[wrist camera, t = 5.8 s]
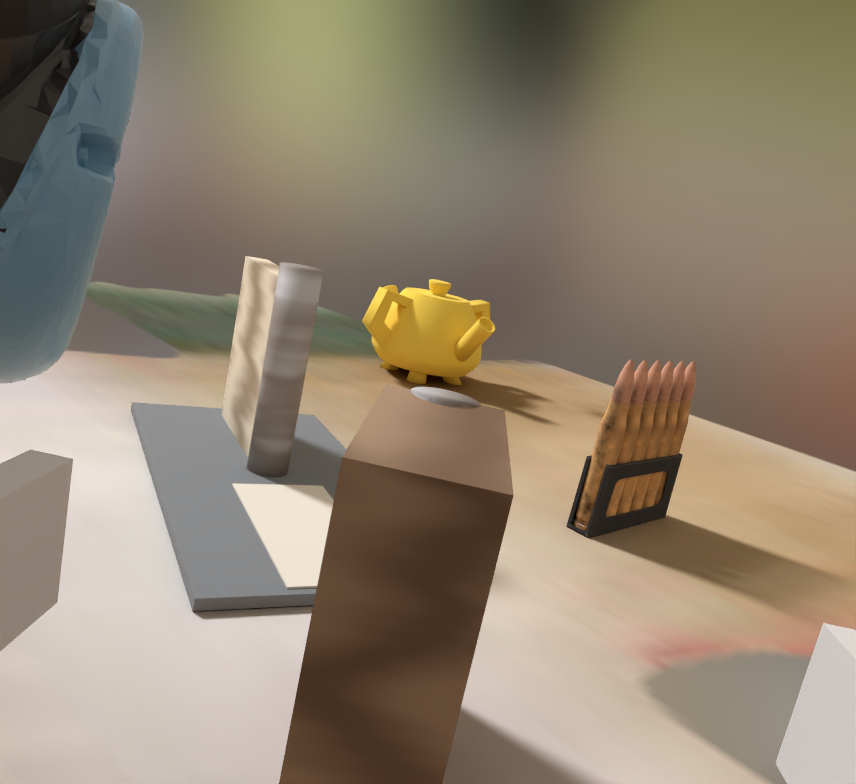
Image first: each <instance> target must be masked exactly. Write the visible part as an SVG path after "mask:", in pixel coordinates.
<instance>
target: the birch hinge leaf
mask: <svg viewBox="0 0 856 784" xmlns="http://www.w3.org/2000/svg"><path fill="white" fill-rule="evenodd" d="M322 276H323V271H322V270H320V269H317V268H313V267H309V266H304V265H299V264H293V263H285V262H281V263H280V266H278V265H276V264H274V263H272V262H270V261H269V260H266V259H260V258H254V257H248V256H246V258H245V264H244V271H243V278H242V284H241V290H240V297H239V303H238V310H237V316H236V323H235V329H234V336H233V342H232V349H231V355H230V362H229V368H228V375H227V381H226V388H225V394H224V401H223V407H222V414H221V415H222V416H223V418H224V420H225V421H226V423H227V424H228V426H229V428H230V429H231V431H232V433H233V434H234V436H235V437H236V439H237V441H238V442H239V444H240V445H241V447H242V449H243V450H244V452H245V454H246V455H247V457H248V461H247V469H248V470H249V471H250V472H252V473H254V474H257V475H260V476H265V477H282V476H285V475H286V474H287V473H288V469H289V463H290V457H291V452H292V446H293V440H294V435H295V429H296V423H297V418H298V412H299V406H300V401H301V395H302V389H303V384H304V378H305V373H306V367H307V361H308V356H309V350H310V344H311V339H312V333H313V327H314V322H315V316H316V310H317V305H318V299H319V293H320V288H321V282H322Z"/></svg>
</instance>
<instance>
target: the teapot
mask: <svg viewBox="0 0 856 784" xmlns="http://www.w3.org/2000/svg"><path fill="white" fill-rule="evenodd" d="M429 286H430V290H425V289H419V288H406V289H404V290H403V291H402V292H401V293H400V294H398V290H397V287H396V286H394V285H390V286H386V287H383V288H381V287H379V289H378V291H377V293H376V295H375V297H374V299H373V301H372V303H371V305H370V307H369V309H368V311H367V312H366V314H365V316H364V318H363V320H362V322H363V323H364V325H365V326H366V328H367V329H368V331H369V332H370V333H371V335H372V344H373V346H374V348H375V350H376V352H377V354H378V355H379V357H380V358H381V359H382V360H383V361H384V362H383V363H382V364H381V365H380V367H382V368H384V369H388V370H398V369H399V368H403V369H406V370H410V372H409V374H408V377H407V380H408V381H410V382H413V383H417V384H426V378H427V374H428V375H434V376H442V377H443V381H444V382H446V383H449V384H453V385H462V383H461V381H460V379H459V377H463V376H465V375H467V374H468V373H470V372H471V371H472V370H473V369H475V368H476V367H477V366H478V364H479V363H480V359H481V344H482V343H483V342H484V341H485V340H486V339H487V338H488V337H489V336H490V335H491V334H492V333H493V332H494V331H495V326H494V324H493V322H492V321H491V320H490V303H489V302H485V301H482V300H474V301H468V300H465V299H463V298H460V297H456V296H452V295H449V294H447V292H448V290H449V289H450V287H451V284H450V283H447V282H444V281H439V280H433V279H432V280H429Z"/></svg>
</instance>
